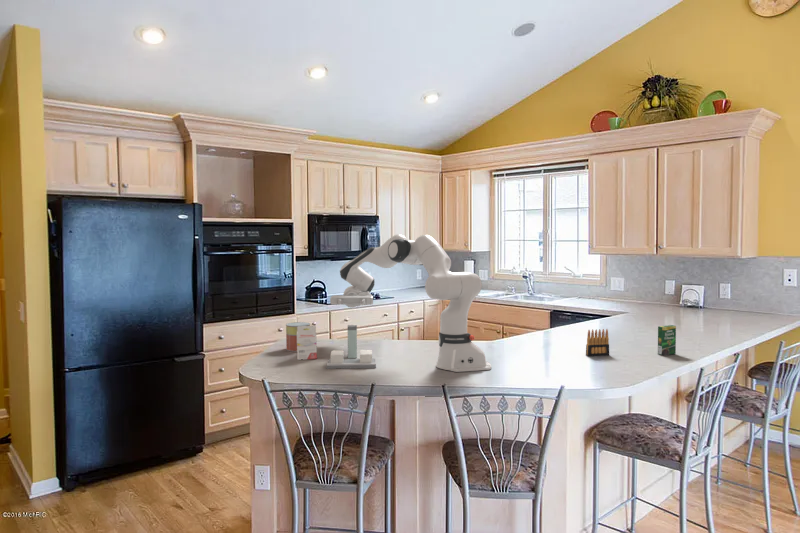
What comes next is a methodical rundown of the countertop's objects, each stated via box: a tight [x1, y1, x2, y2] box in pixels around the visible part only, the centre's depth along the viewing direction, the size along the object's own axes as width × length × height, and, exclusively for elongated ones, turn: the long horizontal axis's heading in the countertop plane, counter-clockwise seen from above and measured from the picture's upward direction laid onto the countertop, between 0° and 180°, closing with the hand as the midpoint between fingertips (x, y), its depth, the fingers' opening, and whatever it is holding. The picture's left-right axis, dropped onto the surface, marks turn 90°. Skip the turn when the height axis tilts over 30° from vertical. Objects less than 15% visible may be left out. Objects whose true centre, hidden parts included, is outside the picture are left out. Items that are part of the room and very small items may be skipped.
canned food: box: [285, 321, 311, 353], centre depth 271 cm, size 11×11×12 cm
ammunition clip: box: [585, 328, 610, 357], centre depth 256 cm, size 11×2×12 cm, turn 102°
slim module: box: [347, 324, 358, 359], centre depth 253 cm, size 4×4×14 cm
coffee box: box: [657, 324, 677, 356], centre depth 258 cm, size 8×3×13 cm, turn 107°
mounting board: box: [326, 349, 377, 370], centre depth 239 cm, size 20×12×5 cm, turn 94°
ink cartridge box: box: [296, 325, 318, 361], centre depth 251 cm, size 9×5×15 cm, turn 101°
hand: (351, 302), depth 264 cm, fingers open, 8 cm apart
